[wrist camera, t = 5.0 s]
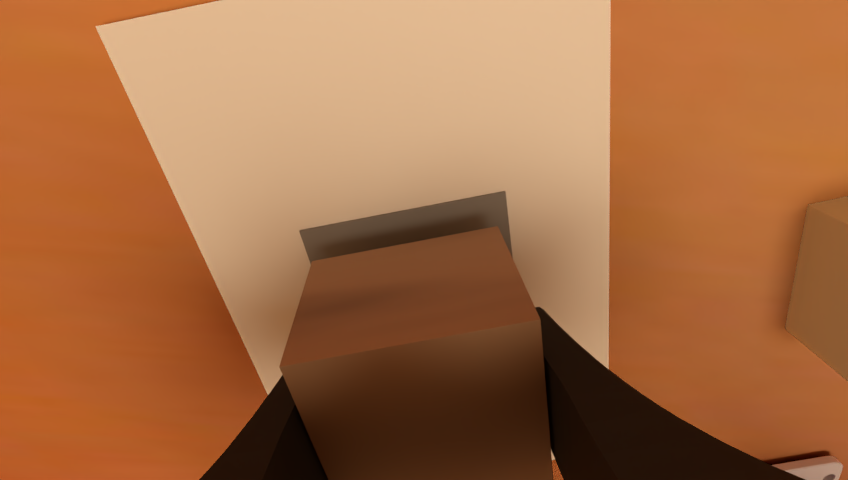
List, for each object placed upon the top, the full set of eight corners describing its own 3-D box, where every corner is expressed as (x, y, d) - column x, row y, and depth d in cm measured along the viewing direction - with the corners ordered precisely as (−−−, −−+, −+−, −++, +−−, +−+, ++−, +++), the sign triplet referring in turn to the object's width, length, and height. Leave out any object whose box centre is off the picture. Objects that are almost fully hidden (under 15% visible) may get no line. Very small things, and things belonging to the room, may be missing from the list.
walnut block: (514, 367, 14) (553, 486, 11) (358, 395, 15) (346, 521, 11) (497, 225, 12) (540, 319, 9) (311, 261, 12) (279, 367, 9)
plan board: (604, 442, 19) (609, 452, 19) (318, 491, 19) (316, 502, 19) (603, -79, 11) (612, -83, 10) (104, 25, 11) (92, 26, 11)
